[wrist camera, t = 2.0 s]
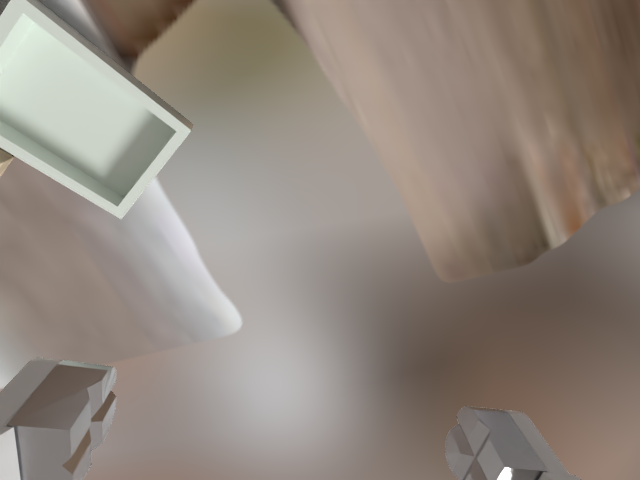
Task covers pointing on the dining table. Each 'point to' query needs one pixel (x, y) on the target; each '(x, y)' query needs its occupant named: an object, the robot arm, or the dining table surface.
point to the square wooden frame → (4, 161)
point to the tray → (79, 111)
